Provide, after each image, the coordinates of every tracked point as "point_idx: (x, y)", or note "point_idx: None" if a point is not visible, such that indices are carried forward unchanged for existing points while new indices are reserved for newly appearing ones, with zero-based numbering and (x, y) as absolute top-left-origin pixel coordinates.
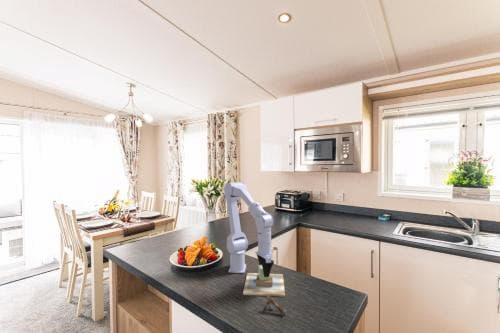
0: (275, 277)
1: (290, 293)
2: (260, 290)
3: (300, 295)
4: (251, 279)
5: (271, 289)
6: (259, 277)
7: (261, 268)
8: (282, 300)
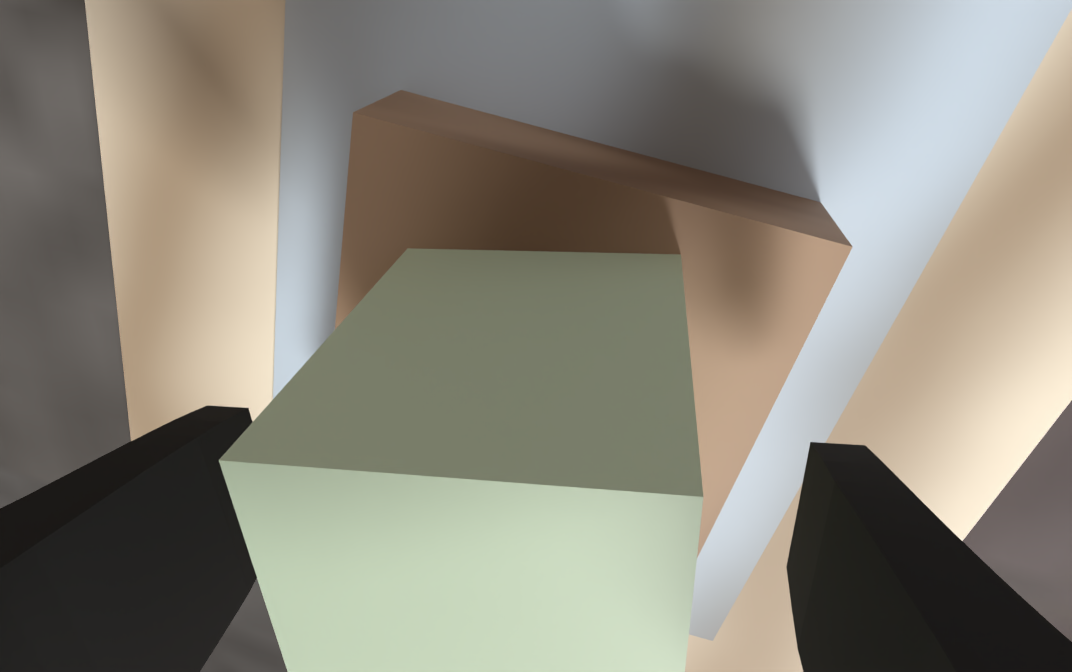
0: (734, 580)
1: (257, 580)
2: (227, 159)
3: (220, 653)
4: (819, 19)
5: (271, 381)
6: (511, 265)
7: (288, 521)
8: (59, 432)
